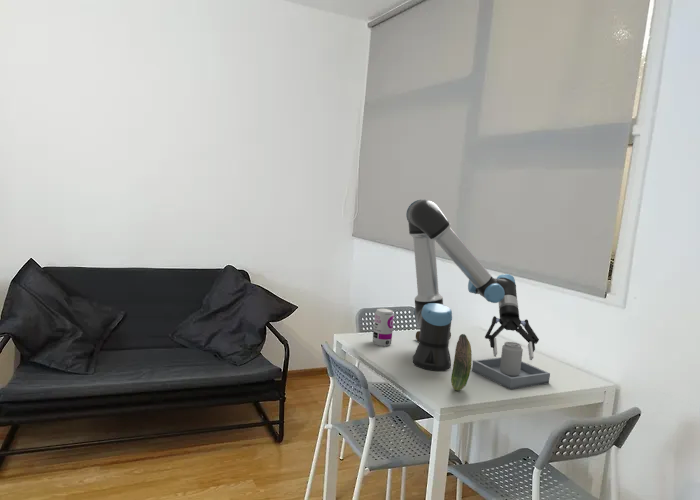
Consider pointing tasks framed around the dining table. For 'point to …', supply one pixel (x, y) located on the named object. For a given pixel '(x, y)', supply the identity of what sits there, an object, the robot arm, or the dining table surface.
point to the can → (511, 359)
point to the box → (524, 379)
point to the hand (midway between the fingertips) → (513, 356)
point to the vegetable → (461, 363)
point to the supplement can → (383, 327)
